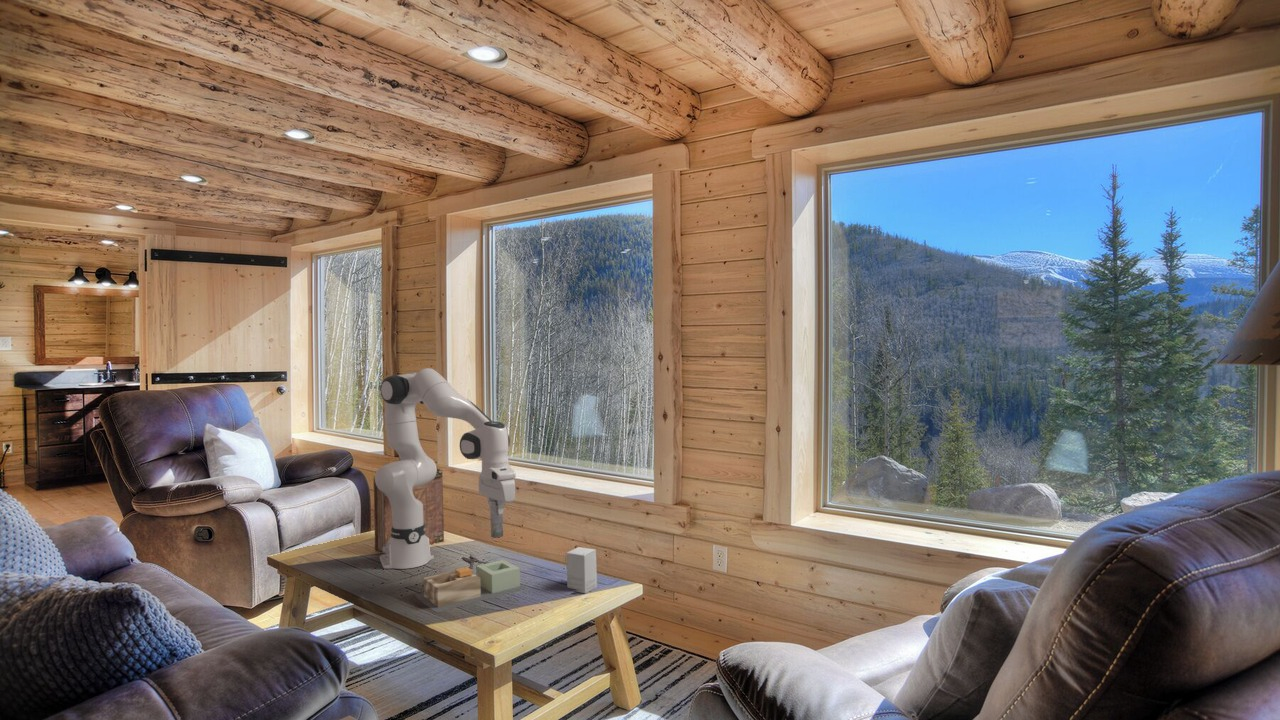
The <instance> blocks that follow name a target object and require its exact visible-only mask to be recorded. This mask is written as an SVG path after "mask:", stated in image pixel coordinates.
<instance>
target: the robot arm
mask: <svg viewBox="0 0 1280 720" xmlns="http://www.w3.org/2000/svg"><path fill="white" fill-rule="evenodd" d="M379 389H380V396H381V397H382V399H383V401H384V402H385V404H384V405H385V406H384V422H385V423H384V424H385V425H384V426H385V434H386V441H387V442H386V443H387V445H388V447H389V448H390V449H392V450H394V451H395V452H396V453H397V455H398V456H399V459H400V460H397V461H393V462H389V463H386V464H384V465H382V466H380V467H379V468H378V469H377V470H376V472H375V475H374V476H375V483H376V486H377V487H378V489H379V490H380V491H382V492H383V493H385V494H386V496H387V497H388V499H389V501H390V504H391V509H392V524H393V526H392V528H391V538H390V539H389V540H388V542H387V543H386V547H382V551H383V552H382V551H381V552H382V554H381V555H379V561H380V563H381V566H382V568H383V569H384V570H385V569H395V570H396V569H399V570H401V569H402V570H403V569H413V568H417V567H421V566H424V565H426V564H428V563H429V562H430V561H432V560H433V559H435V556H434V554H431V548H430V547H431V545H429V538H428V537H427V536H425V524H424V521H423V504H422V502H421V501H419V500H418V499H416V498H415V497H414V495H413V491H412V488H414V487H417V486H421V485H424V484H426V483H428V482H430V481H431V480H433V479H434V478H435V476H436V473H437V469H438V468H437V464H436V462H435V461H434V460H433V458H430V456H428V455H427V454H426V452H425V451H424V448H423V447H422V444H421V442H420V438H419V431H418V423H417V415H416V407H417V404H419V403H420V404H422V405H423V404H424V405H425V407H426V408H427V409H428V410H429V412H431V413H432V414H433V415H435V416H437V417H441V418H451V419H458V420H462V421H465V422H466V423H468V424H470V426H472V427H473V430H470V431H467V432H464V433H463V434H462V436H461V437H460V440H459V450H460V453H461V455H462V456H463V457H464V458H465V459H467V460H477V459H478V460H479V459H481V472H480V474H479V475H478V476H479V477H478V492H479V493H478V494H480V495H481V496H483V497H486V498H487V504H488V506H489V508H488V509H489V510H490V500H493V499H494V500H497V502H498V508H497V513H498V514H503V515H504V507H505V505H506V504H511V503H514V501H515V499H516V482H515V479H516V476H517V475H516V472H515V470H514V469H513V468H512V467H511V465H510V460H509V456H508V452H509V448H510V443H511V439H510V436H509V433H508V430H507V427H506V424H504V423H502V422H500V421H493V420H492V419H490V417H488V416H487V415H486V413H484V412H483V410H481V409H480V408H479V407H478V406H477V405H476V404H474V403H473V402H472V401H471V400H470V399H468V398H466V397H464V396H463V395H462V394H460V393H459V392H458V391H456V389H455V388H454V387H453V386H452V385H451V383H449V382H448V381H447V380H446V378H444V376H442V375H441V374H440V373H439V372H438V371H436V370H435V369H434V368H430V367H427V368H426V367H425V368H422V369H419V370H418V372H408V373H403V374H398V375H397V374H394V375H390V376H387V377H385V378H383V380H382V382H381V385H380V388H379ZM385 553H386V554H385Z"/></svg>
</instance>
